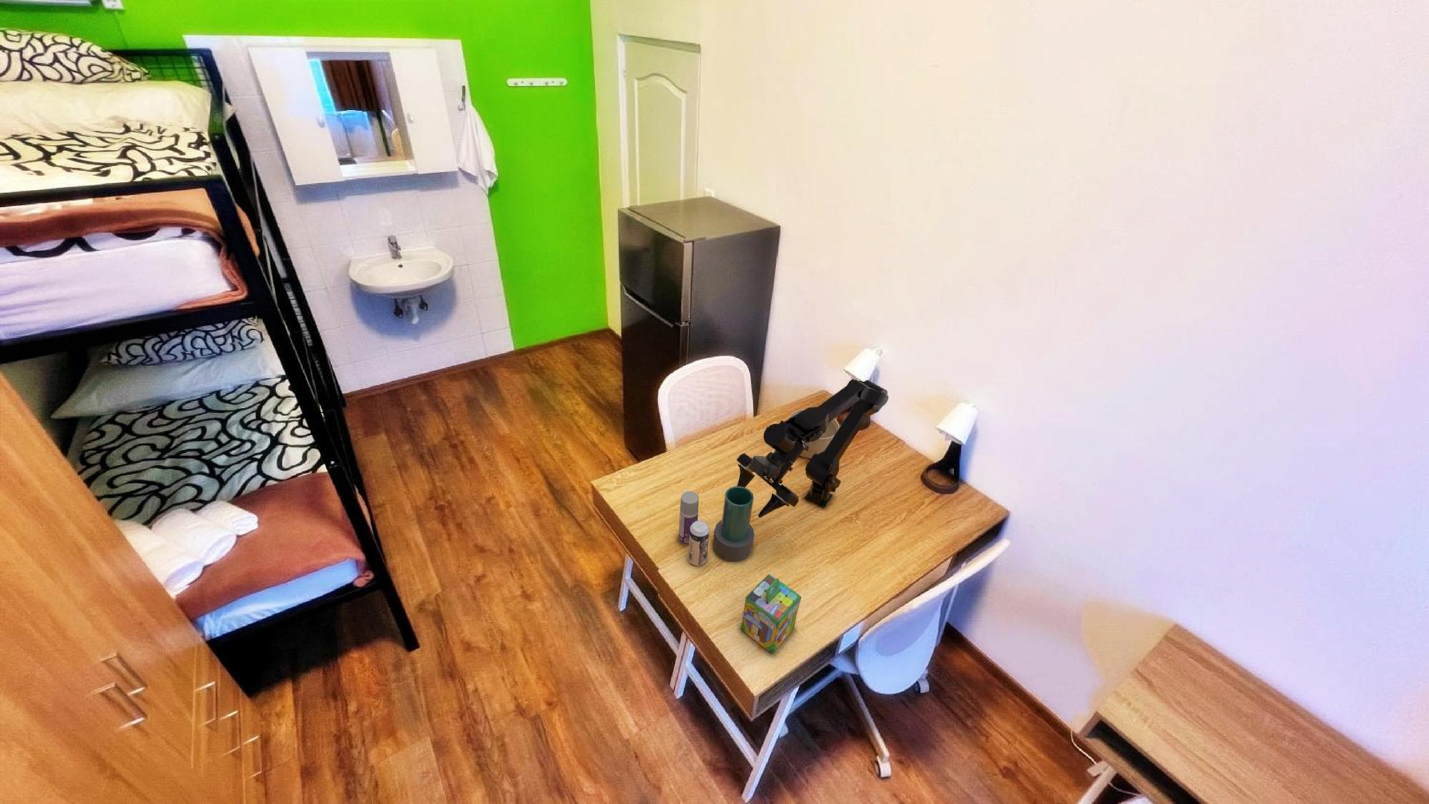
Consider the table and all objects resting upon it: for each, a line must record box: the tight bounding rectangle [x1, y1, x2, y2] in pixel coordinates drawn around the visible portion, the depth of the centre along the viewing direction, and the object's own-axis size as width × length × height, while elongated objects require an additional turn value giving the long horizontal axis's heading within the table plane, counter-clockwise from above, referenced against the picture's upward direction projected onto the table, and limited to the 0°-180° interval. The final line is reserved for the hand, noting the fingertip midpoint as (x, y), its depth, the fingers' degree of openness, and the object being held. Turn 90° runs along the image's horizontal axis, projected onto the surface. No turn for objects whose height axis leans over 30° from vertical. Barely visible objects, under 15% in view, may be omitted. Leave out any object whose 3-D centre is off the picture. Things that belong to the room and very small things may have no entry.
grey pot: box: [712, 519, 755, 563], centre depth 144 cm, size 10×10×6 cm
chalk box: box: [740, 573, 802, 655], centre depth 122 cm, size 9×9×15 cm
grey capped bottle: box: [687, 519, 711, 567], centre depth 138 cm, size 5×5×12 cm
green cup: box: [721, 485, 755, 542], centre depth 139 cm, size 7×7×12 cm
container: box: [677, 490, 700, 547], centre depth 142 cm, size 5×5×15 cm
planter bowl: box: [788, 408, 840, 459], centre depth 179 cm, size 16×16×11 cm
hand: (746, 505), depth 140 cm, fingers open, 9 cm apart
